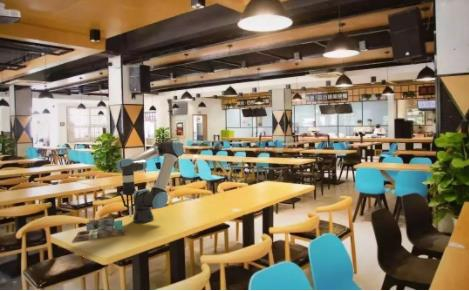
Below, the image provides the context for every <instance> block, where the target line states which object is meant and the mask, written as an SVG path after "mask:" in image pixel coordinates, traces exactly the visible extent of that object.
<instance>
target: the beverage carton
mask: <svg viewBox="0 0 469 291" xmlns="http://www.w3.org/2000/svg"><path fill="white" fill-rule="evenodd" d="M105 219H113V226H114V221H115V217H114V216H104V217H102V218H99V219H96V220H93V221H90V222H87V223H85V229H86V231H87V230H95V229H97V228H99V220H105Z"/></svg>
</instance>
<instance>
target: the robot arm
mask: <svg viewBox="0 0 469 291" xmlns="http://www.w3.org/2000/svg"><path fill="white" fill-rule="evenodd" d="M183 154H184V146H183V144H182V142H181V141H177V140H171V141H161V142H158V143H156V144H153V145H152V146H150V147H149V148H148V149H146V150H143V151H141V152H139V153H136V154H135V155H132V156H131V157H127V158H122V159H120V160H118V161H117V162H116V166H115V167H116V169H117V170H118V171H121V177H122V178H121V180H122V190H121V191H120V192H119V196H120V197H121V200H122V204H123V207H126V211H127V213H129V214H128V215H129V218H132V222H133V223H136V224H143V223H149V222H151V221H153V220H154V218H155V217H154V214H153V212H152V210H151V208H152V209H153V208H154V209H162V208H163V207H165V206H166V205H167V204H168V200H169V196H168V191H167V187H168V184H169V181H170V177H171V174H172V171H173V168H174V166H175V163H176V162H177V161H178V159H179V157H181V156H183ZM158 157H164V158H163V161H162V163H161V166H160V170H159V173H158V175H157V178H156V180H155V183H154V186H152V187H151V189H149V188H144V189H139V190H137V189H136V187H135V186H136V185H135V172H139V171H140V172H141V171H145V170H146V169H147V167H148V162H147V161H149V160H152V159H153V158H154V159H155V158H156V159H157V158H158ZM124 195H125V196H126V198H125V197H124ZM129 196H130V200H129ZM125 199H126V201H125ZM133 212H134V213H133Z"/></svg>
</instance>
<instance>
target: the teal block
mask: <svg viewBox="0 0 469 291" xmlns="http://www.w3.org/2000/svg"><path fill="white" fill-rule="evenodd" d="M113 226H114V230H121V229H123V226H124V224H123V220H122V219H121V220H114V225H113Z"/></svg>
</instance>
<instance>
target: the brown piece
mask: <svg viewBox="0 0 469 291" xmlns="http://www.w3.org/2000/svg"><path fill="white" fill-rule="evenodd" d="M125 230H126V229H125V225H123V229H121V230H114V225H113V219H105V220H99V228H97V229H95V230H87V229H86V230H81V231H78V232H77V234H76V236H75V242H79V241H80V242H81V241H82V242H83V241H89V240H96V239H105V238H110V237H120V236H125Z"/></svg>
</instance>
